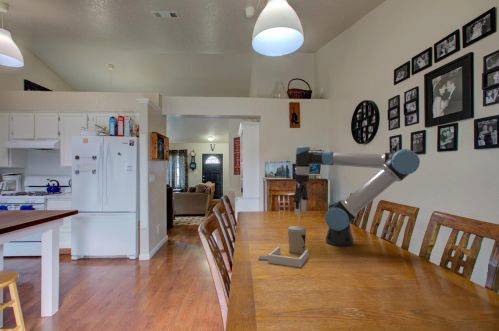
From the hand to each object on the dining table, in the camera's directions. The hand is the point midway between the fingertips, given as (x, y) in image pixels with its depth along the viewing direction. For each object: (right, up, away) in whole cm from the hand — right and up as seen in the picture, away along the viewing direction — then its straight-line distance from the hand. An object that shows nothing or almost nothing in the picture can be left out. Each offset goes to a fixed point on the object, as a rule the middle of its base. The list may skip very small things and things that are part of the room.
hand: (300, 213), depth 151 cm
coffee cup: (-4, -18, -10) cm, 21 cm away
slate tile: (-21, -18, -22) cm, 36 cm away
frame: (-10, -18, -24) cm, 31 cm away
